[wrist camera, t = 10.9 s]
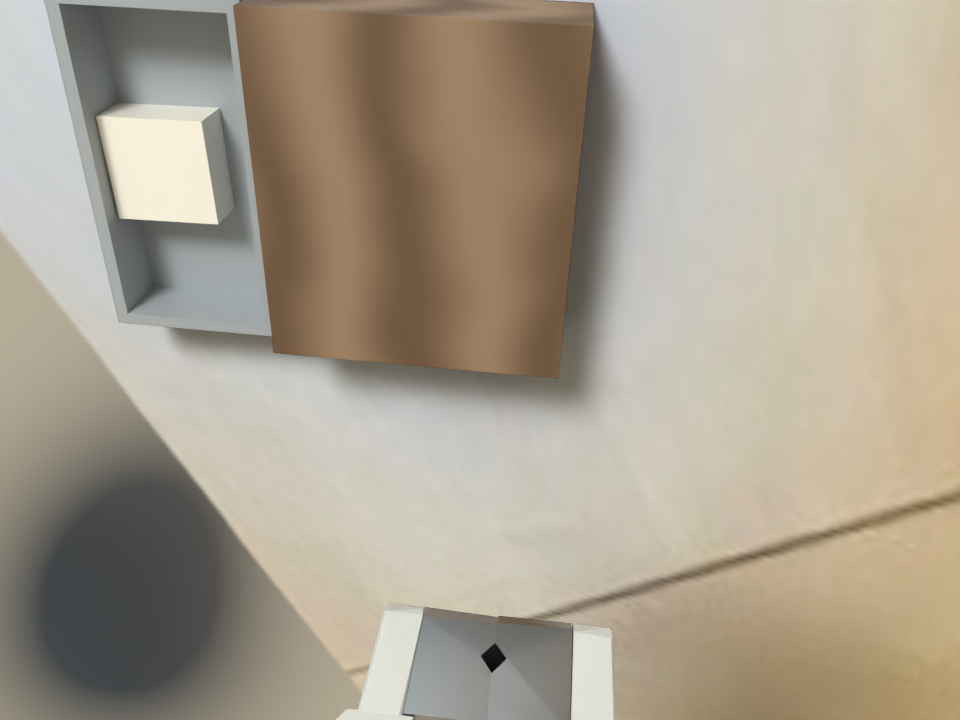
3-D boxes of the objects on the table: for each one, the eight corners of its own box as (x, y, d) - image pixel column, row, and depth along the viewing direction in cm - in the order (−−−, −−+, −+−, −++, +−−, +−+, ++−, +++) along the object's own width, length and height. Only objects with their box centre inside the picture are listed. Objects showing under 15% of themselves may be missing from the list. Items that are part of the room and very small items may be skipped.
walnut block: (593, 3, 36) (593, 26, 31) (561, 326, 44) (557, 378, 40) (273, -15, 37) (232, 5, 32) (303, 304, 45) (273, 352, 41)
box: (267, -16, 37) (238, -2, 34) (297, 304, 45) (277, 336, 42) (84, -26, 37) (41, -14, 34) (148, 291, 46) (118, 322, 43)
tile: (95, 115, 38) (118, 102, 40) (119, 218, 41) (139, 201, 43) (201, 121, 38) (219, 108, 40) (218, 224, 40) (234, 207, 42)
